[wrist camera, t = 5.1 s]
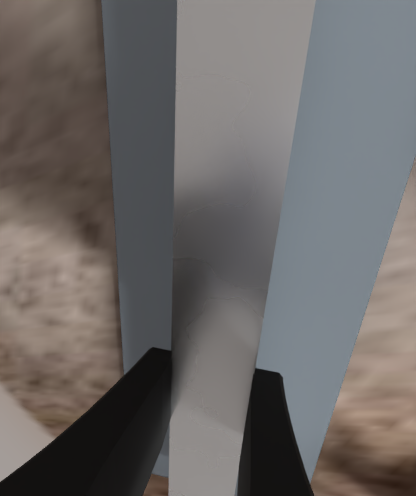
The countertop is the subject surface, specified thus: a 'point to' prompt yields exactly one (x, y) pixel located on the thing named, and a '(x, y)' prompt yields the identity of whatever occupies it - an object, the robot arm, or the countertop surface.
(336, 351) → the slate mat
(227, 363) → the steel rail
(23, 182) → the countertop surface
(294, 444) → the robot arm
